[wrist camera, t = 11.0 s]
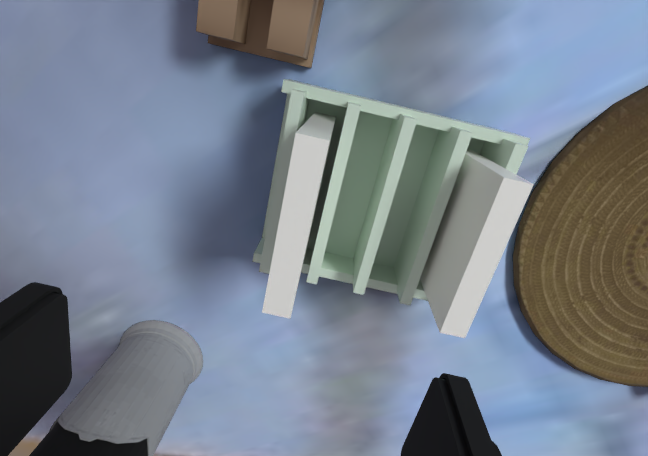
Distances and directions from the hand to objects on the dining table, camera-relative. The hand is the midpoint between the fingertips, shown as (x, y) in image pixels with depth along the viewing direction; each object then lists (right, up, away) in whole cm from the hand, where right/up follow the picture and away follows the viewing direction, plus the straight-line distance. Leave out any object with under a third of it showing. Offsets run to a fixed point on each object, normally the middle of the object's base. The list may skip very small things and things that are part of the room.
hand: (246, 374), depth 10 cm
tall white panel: (+1, +8, +21) cm, 22 cm away
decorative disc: (+33, +2, +23) cm, 40 cm away
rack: (+6, +7, +22) cm, 24 cm away
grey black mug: (-16, -12, +31) cm, 37 cm away
